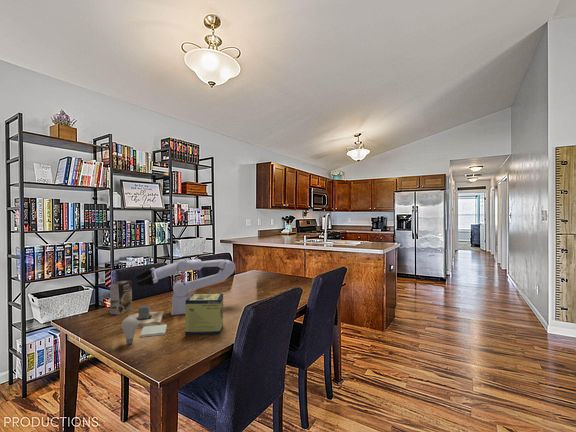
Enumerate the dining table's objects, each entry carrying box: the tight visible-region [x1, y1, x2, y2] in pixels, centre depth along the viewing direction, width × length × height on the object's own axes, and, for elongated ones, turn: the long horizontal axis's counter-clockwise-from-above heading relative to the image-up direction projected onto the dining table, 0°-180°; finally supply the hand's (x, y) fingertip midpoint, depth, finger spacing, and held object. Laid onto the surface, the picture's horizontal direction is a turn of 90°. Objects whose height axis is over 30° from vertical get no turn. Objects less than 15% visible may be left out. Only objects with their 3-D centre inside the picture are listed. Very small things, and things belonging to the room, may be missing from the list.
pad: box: [139, 323, 168, 338], centre depth 138 cm, size 10×10×1 cm
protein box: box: [184, 293, 224, 336], centre depth 140 cm, size 10×16×16 cm
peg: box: [138, 304, 151, 320], centre depth 150 cm, size 4×4×8 cm
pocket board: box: [127, 310, 164, 329], centre depth 150 cm, size 16×16×2 cm
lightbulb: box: [120, 316, 138, 345], centre depth 125 cm, size 6×6×11 cm
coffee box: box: [109, 280, 133, 316], centre depth 165 cm, size 9×6×16 cm
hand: (137, 281), depth 156 cm, fingers open, 7 cm apart
